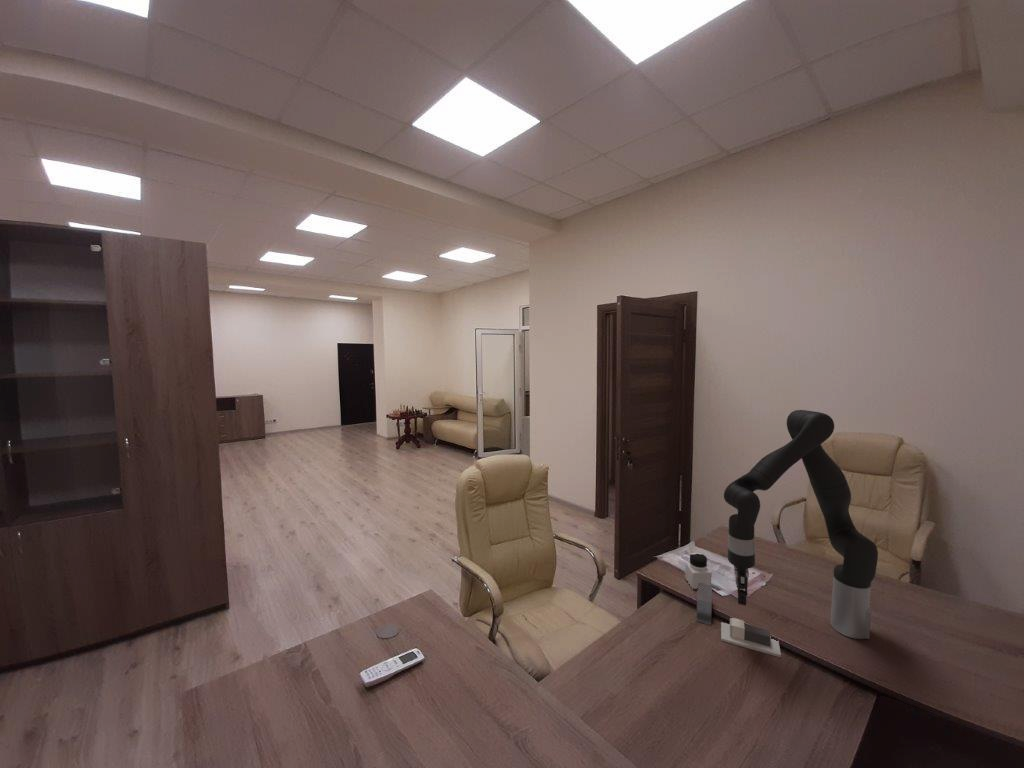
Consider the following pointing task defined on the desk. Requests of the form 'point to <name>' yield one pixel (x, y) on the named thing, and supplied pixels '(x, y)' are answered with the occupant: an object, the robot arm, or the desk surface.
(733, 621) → the plug bar
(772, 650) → the mat
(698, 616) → the shaft block
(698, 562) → the medicine bottle
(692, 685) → the desk surface
